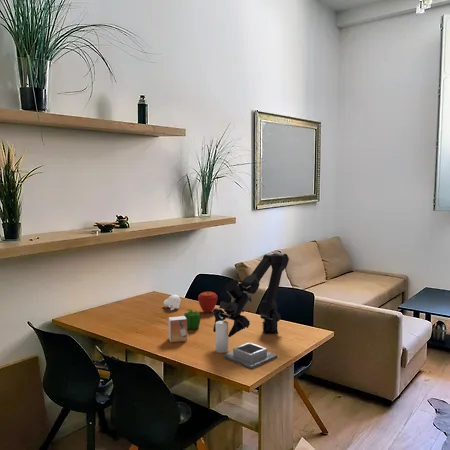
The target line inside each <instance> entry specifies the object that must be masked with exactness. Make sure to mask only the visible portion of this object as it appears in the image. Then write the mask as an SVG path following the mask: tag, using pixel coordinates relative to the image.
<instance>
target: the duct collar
mask: <svg viewBox="0 0 450 450" xmlns="http://www.w3.org/2000/svg"><path fill="white" fill-rule="evenodd" d="M222 358H223V359H225V360H226V361H230V362H233V363H235V364H236V365H239V366H242V367H244V368H247V369H250V370H253V369H255V368H257V367H259V366H261V365H264V364H266V363H268V362H270V361H273V360H275V359H277V358H278V355H277V354H274V353H272V352H269V351H268V348H266V347H263V346H262V345H261V346H260V345H258V344H256V343H254V342H253V343H252V342H247V343H244V344H241V345H239V346H236V347H234V348H233V349H232V351H231V352H227V353H225V354H223V355H222Z"/></svg>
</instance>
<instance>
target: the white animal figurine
mask: <svg viewBox="0 0 450 450" xmlns="http://www.w3.org/2000/svg"><path fill="white" fill-rule="evenodd" d="M181 302H182V300H181V298H180V296H179V295H177V294H172V295H170V296H169V297H168V298H166V299H165V300H164V301H163V305H164V308H168V307H169V308H170V311H174V310H175V309H177V310H178V309H179V308H180V304H181Z"/></svg>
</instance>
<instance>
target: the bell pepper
mask: <svg viewBox="0 0 450 450" xmlns="http://www.w3.org/2000/svg"><path fill="white" fill-rule="evenodd" d="M186 310H187V312H184V314H183V316H185V317H186V319H187V330H197V329H198V328H199V327H200V324H201V319H202V318H201V317H202V316H201V313H200V312H198V311H197V310H195V311H194V310H193V309H192V308H187V309H186Z"/></svg>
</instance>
